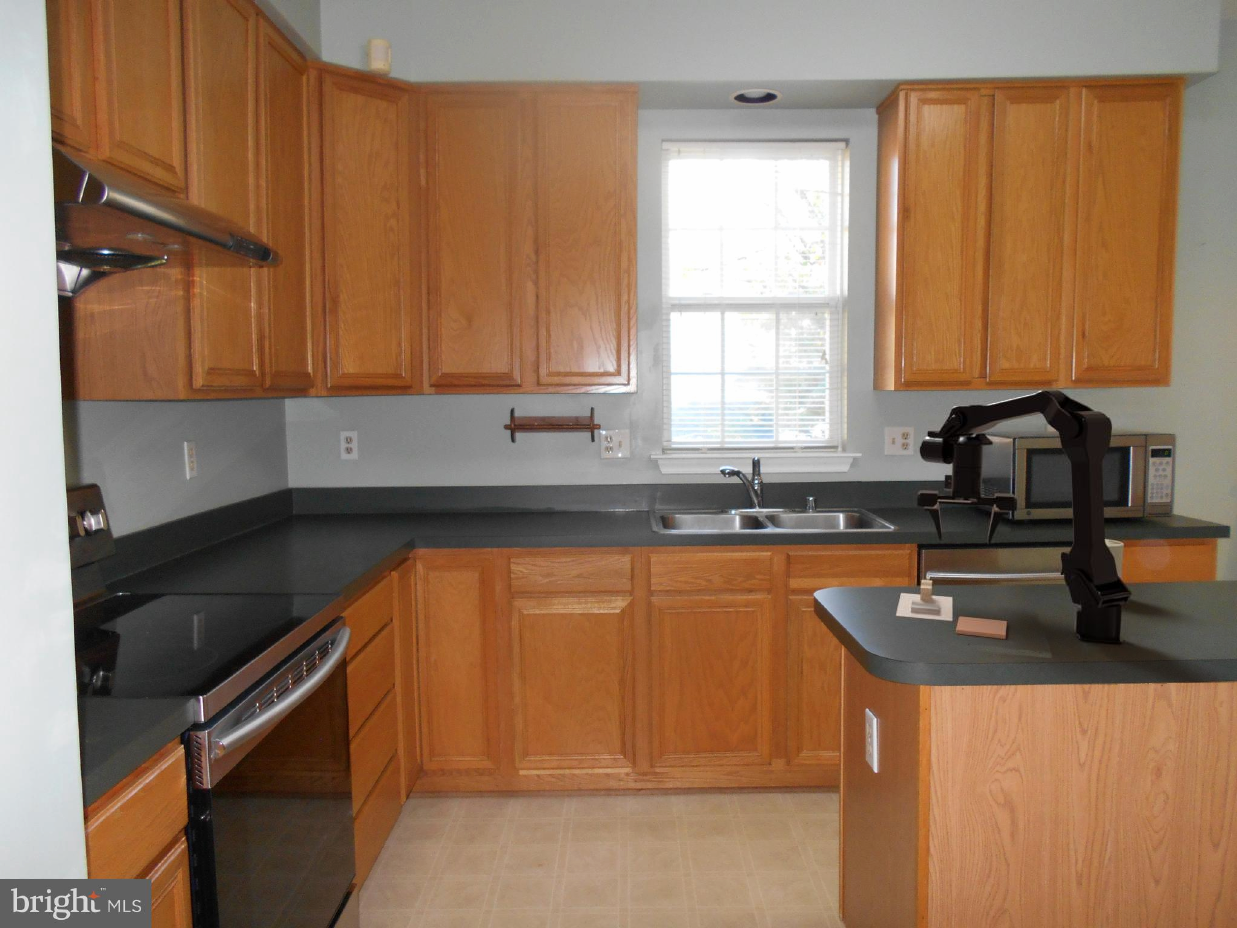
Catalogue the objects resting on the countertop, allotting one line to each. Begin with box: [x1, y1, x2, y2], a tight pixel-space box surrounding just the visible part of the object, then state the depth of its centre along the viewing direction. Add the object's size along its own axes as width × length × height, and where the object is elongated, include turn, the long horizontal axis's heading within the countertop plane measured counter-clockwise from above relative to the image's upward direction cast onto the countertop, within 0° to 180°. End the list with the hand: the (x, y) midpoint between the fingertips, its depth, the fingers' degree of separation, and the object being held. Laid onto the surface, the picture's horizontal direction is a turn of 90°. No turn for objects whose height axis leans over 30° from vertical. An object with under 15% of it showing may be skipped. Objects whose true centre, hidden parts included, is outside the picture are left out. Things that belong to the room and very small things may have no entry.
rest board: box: [895, 592, 953, 622], centre depth 169 cm, size 10×18×1 cm, turn 159°
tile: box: [955, 616, 1008, 640], centre depth 153 cm, size 8×2×9 cm
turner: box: [911, 579, 939, 615], centre depth 169 cm, size 13×5×4 cm, turn 159°
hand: (964, 541), depth 176 cm, fingers open, 9 cm apart
